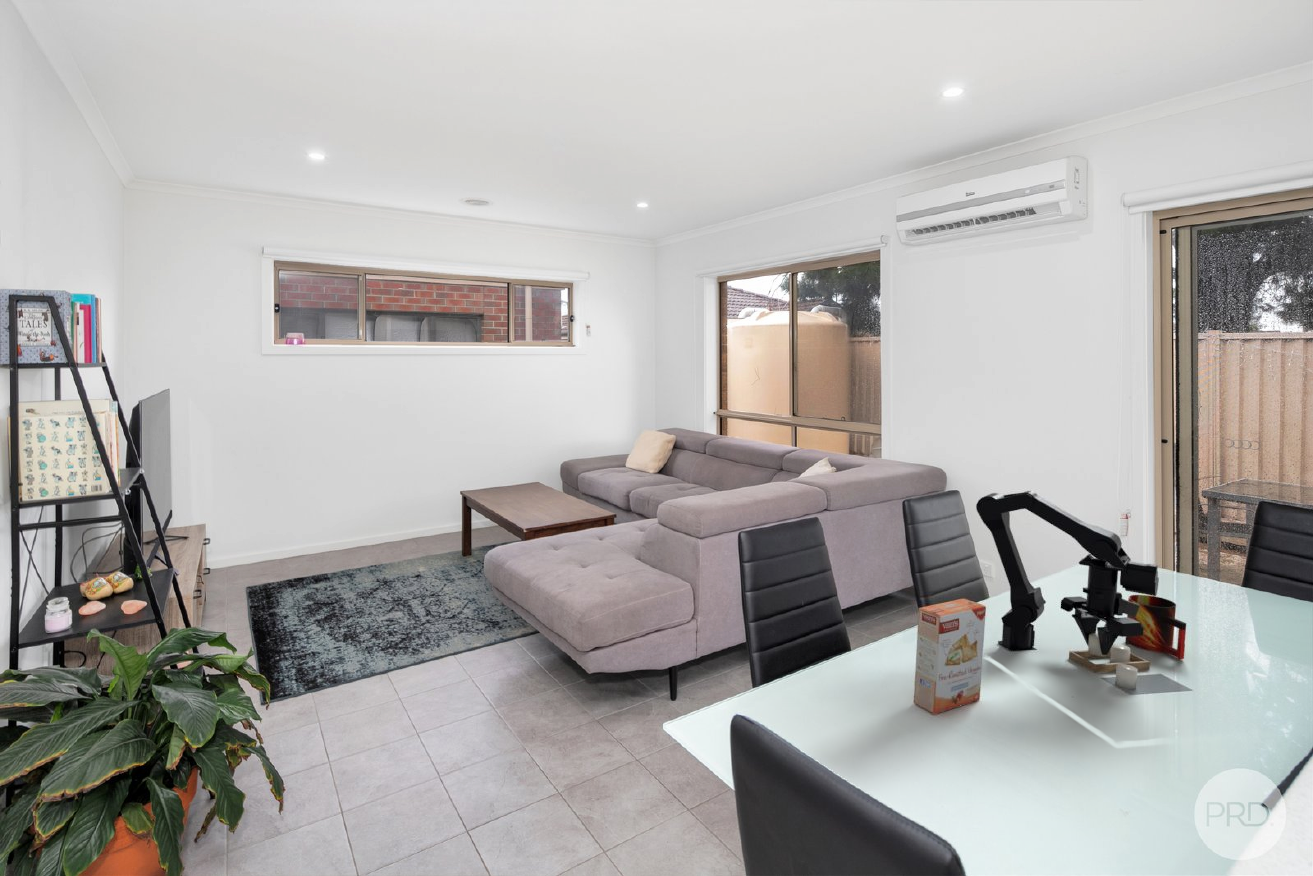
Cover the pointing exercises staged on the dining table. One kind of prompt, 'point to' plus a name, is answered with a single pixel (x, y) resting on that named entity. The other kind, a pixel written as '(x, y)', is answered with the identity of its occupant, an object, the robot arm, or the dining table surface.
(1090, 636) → the pebble
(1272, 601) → the dining table surface
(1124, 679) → the white rounded stone
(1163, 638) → the mug
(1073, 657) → the walnut bin
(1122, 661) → the pebble
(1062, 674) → the dining table surface
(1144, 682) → the slate board
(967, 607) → the cracker box
